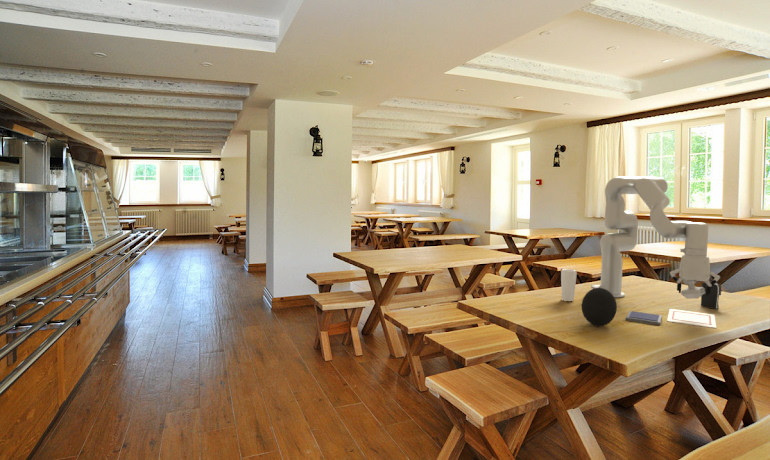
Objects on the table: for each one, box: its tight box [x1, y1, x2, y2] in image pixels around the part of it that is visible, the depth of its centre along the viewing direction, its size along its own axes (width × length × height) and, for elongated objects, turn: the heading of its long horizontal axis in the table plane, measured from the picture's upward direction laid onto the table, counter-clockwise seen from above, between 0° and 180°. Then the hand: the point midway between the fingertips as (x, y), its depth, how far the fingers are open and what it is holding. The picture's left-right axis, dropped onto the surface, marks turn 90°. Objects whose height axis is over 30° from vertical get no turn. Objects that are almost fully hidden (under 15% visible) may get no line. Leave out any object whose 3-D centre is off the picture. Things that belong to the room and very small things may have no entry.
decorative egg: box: [581, 288, 618, 327], centre depth 174 cm, size 12×12×15 cm
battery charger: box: [700, 281, 722, 310], centre depth 201 cm, size 7×4×11 cm, turn 21°
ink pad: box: [625, 310, 663, 326], centre depth 183 cm, size 12×12×2 cm
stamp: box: [680, 279, 706, 300], centre depth 184 cm, size 9×7×8 cm
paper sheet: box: [666, 308, 717, 329], centre depth 184 cm, size 16×22×1 cm
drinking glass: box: [560, 268, 577, 302], centre depth 212 cm, size 7×7×15 cm
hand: (693, 293), depth 183 cm, fingers closed on stamp, 8 cm apart
